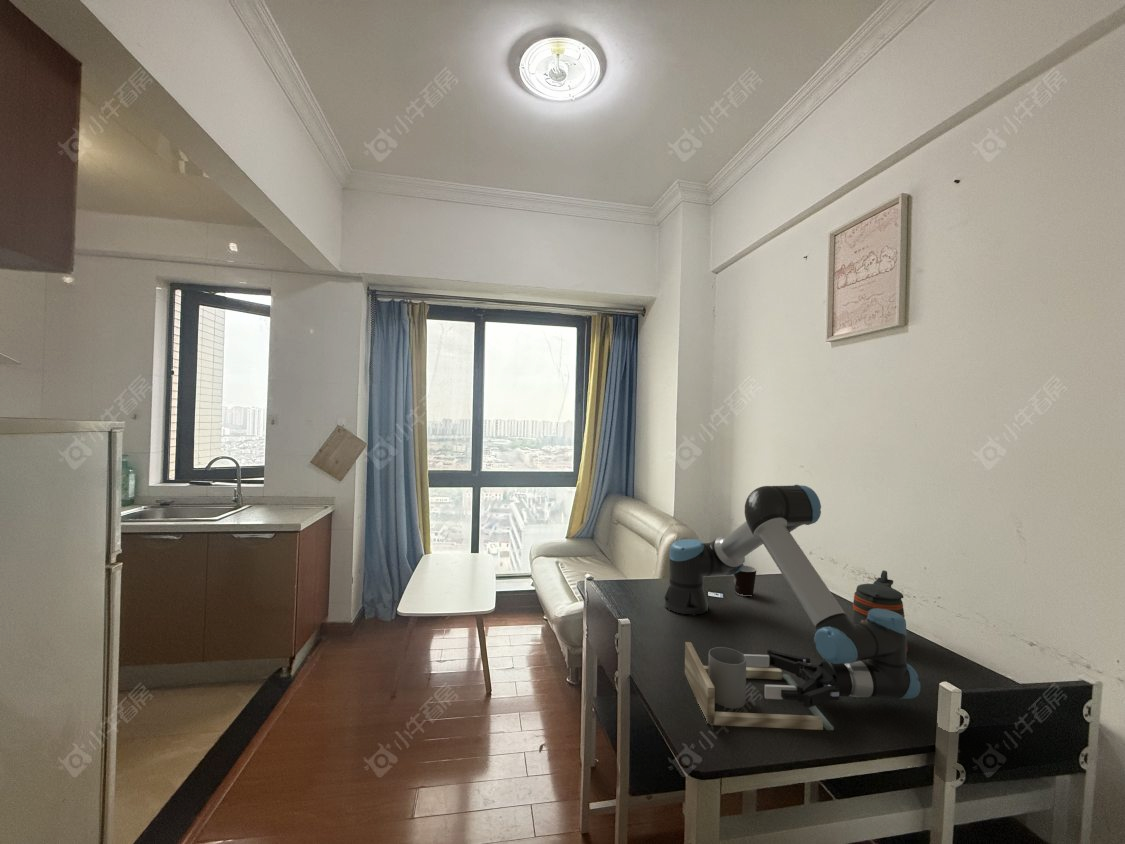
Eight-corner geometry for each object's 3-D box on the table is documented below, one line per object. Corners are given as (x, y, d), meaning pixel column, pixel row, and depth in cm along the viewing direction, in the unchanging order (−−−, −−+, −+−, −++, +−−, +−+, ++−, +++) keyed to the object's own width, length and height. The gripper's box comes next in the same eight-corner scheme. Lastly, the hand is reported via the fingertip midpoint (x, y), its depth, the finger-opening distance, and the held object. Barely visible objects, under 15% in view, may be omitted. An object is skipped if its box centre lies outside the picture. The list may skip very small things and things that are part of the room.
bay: (707, 724, 98) (707, 687, 98) (684, 672, 119) (685, 641, 119) (833, 730, 97) (834, 692, 97) (788, 676, 118) (788, 645, 118)
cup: (744, 692, 111) (745, 650, 111) (746, 711, 103) (747, 667, 103) (708, 684, 114) (708, 644, 114) (707, 703, 106) (708, 660, 106)
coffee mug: (754, 599, 171) (754, 573, 172) (730, 595, 176) (730, 569, 176) (759, 590, 181) (759, 565, 181) (736, 586, 186) (736, 561, 186)
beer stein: (854, 624, 152) (855, 563, 152) (909, 637, 142) (910, 573, 142) (845, 644, 137) (846, 577, 137) (906, 660, 128) (907, 589, 128)
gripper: (879, 729, 95) (776, 725, 95) (816, 666, 119) (734, 663, 120) (879, 692, 95) (776, 689, 95) (816, 637, 120) (735, 635, 120)
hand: (752, 674), depth 108 cm, fingers open, 13 cm apart
